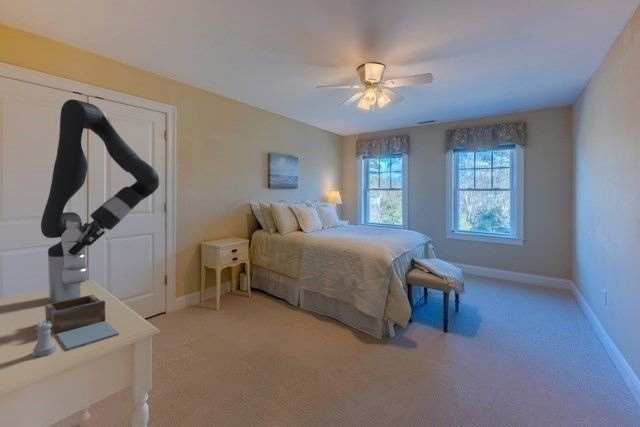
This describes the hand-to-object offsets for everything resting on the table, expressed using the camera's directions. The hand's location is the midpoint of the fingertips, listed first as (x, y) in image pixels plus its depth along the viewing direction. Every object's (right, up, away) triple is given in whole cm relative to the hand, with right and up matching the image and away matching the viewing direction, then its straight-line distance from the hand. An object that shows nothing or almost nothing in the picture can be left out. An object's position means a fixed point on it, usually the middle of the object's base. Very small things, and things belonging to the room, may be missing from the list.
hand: (68, 251), depth 93 cm
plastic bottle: (+1, -10, +2) cm, 11 cm away
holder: (0, -23, +3) cm, 23 cm away
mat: (+10, -24, -5) cm, 27 cm away
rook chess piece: (+7, -25, -15) cm, 30 cm away
